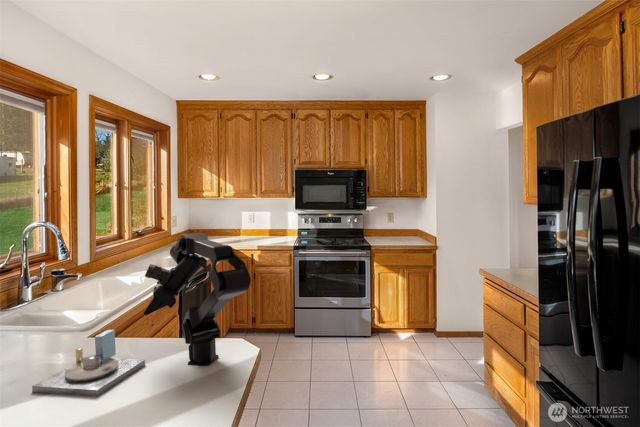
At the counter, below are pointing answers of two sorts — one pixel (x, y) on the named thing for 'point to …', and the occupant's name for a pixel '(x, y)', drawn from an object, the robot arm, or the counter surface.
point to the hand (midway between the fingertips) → (144, 314)
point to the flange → (96, 360)
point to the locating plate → (88, 387)
